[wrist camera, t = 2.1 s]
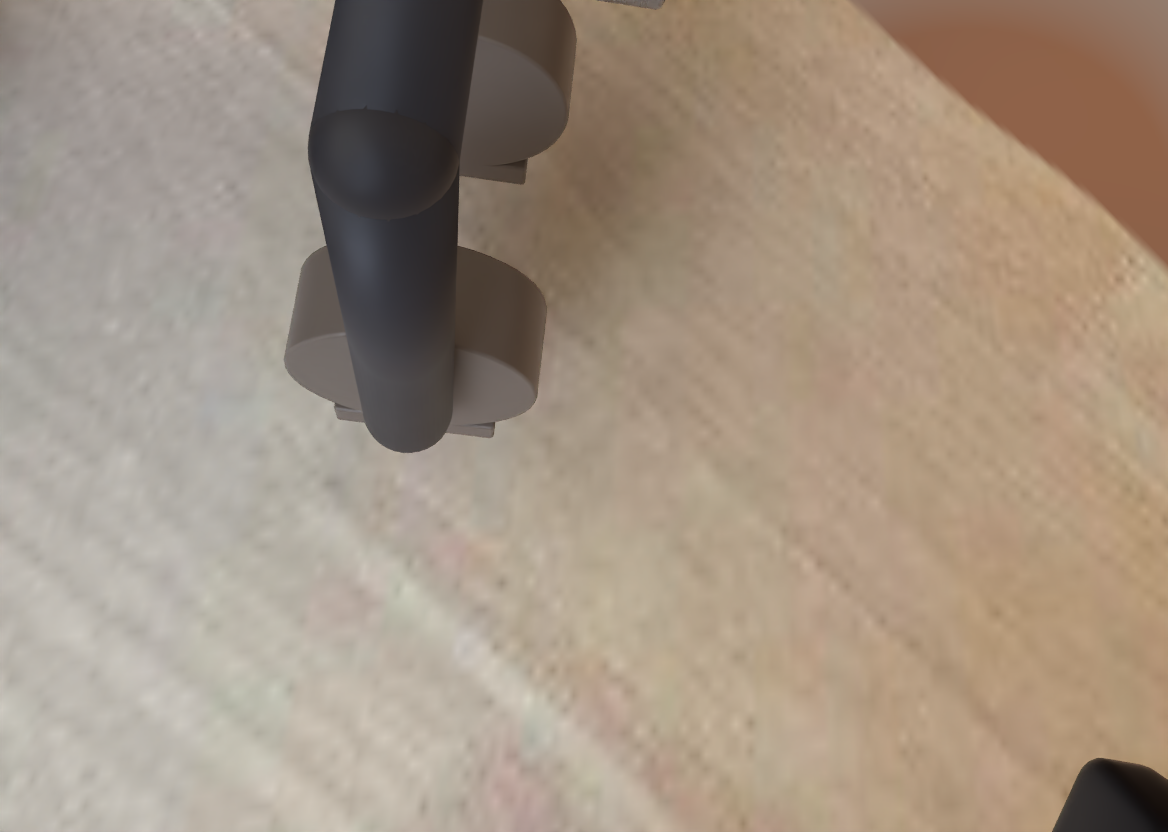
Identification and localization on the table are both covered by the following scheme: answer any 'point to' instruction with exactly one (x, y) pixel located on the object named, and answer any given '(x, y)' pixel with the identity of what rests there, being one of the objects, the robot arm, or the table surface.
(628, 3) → the hook arm
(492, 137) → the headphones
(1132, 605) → the table surface
